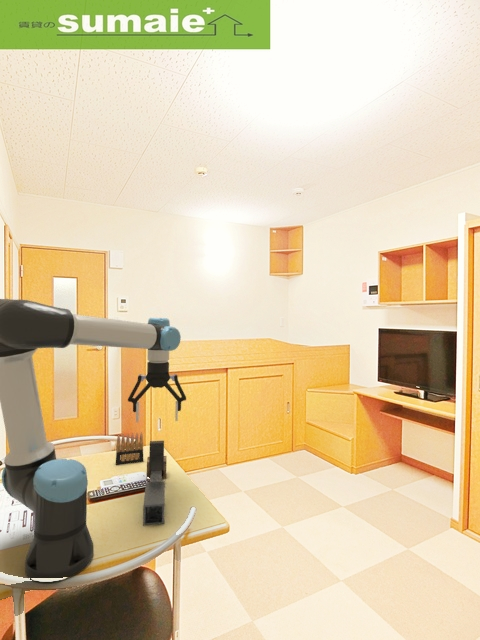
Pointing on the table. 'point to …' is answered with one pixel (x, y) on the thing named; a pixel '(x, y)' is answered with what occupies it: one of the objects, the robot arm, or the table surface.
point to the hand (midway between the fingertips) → (157, 420)
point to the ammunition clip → (129, 450)
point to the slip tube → (156, 460)
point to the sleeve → (154, 503)
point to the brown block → (162, 471)
